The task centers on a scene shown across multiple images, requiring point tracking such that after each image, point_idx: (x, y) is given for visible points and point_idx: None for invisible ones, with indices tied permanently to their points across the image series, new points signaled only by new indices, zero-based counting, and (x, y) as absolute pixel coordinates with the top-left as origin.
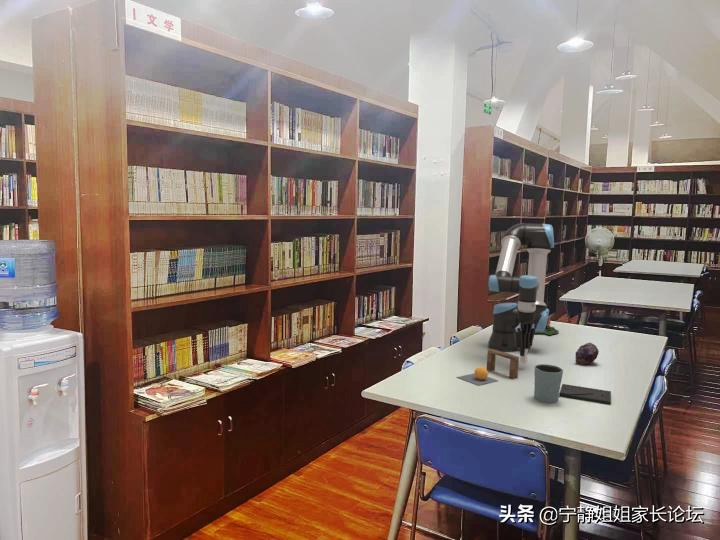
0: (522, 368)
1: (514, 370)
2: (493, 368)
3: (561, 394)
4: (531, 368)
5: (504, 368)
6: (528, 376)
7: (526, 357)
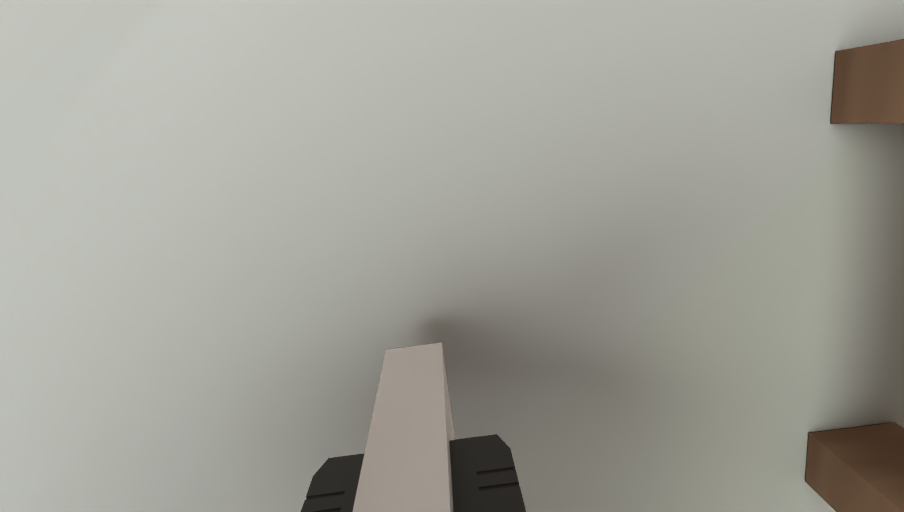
0: None
1: None
2: (855, 445)
3: None
4: (289, 321)
5: (635, 445)
6: (629, 41)
7: (399, 402)
